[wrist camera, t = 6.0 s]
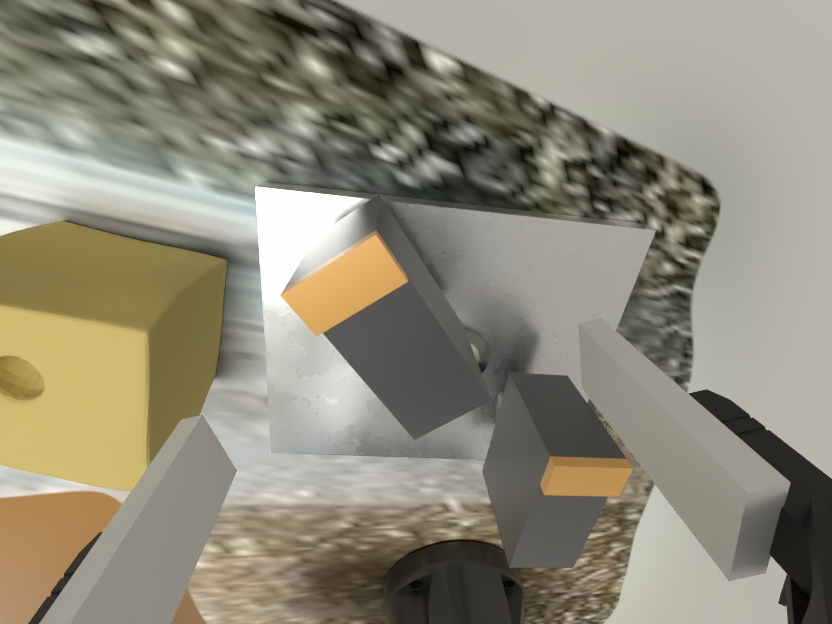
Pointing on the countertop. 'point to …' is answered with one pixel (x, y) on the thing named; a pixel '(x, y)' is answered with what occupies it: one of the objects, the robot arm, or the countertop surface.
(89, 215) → the countertop surface
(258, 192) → the level plate
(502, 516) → the knob
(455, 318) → the orange-capped gray block
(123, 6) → the countertop surface
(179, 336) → the cheese
